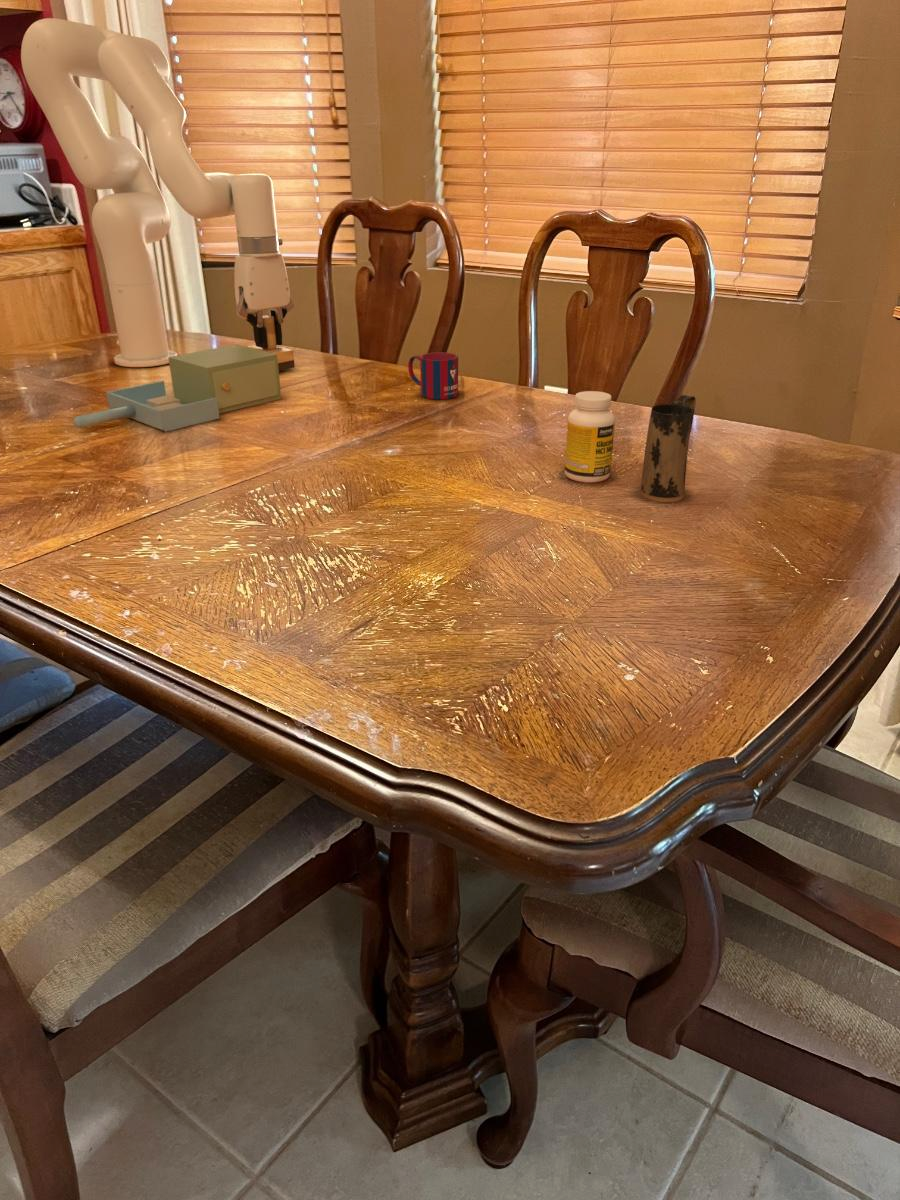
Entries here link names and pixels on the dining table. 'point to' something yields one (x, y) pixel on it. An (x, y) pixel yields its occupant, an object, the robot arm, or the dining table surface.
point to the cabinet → (226, 377)
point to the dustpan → (150, 409)
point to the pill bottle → (590, 438)
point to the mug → (667, 450)
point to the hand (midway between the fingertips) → (269, 344)
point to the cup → (437, 375)
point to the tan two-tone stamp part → (283, 354)
